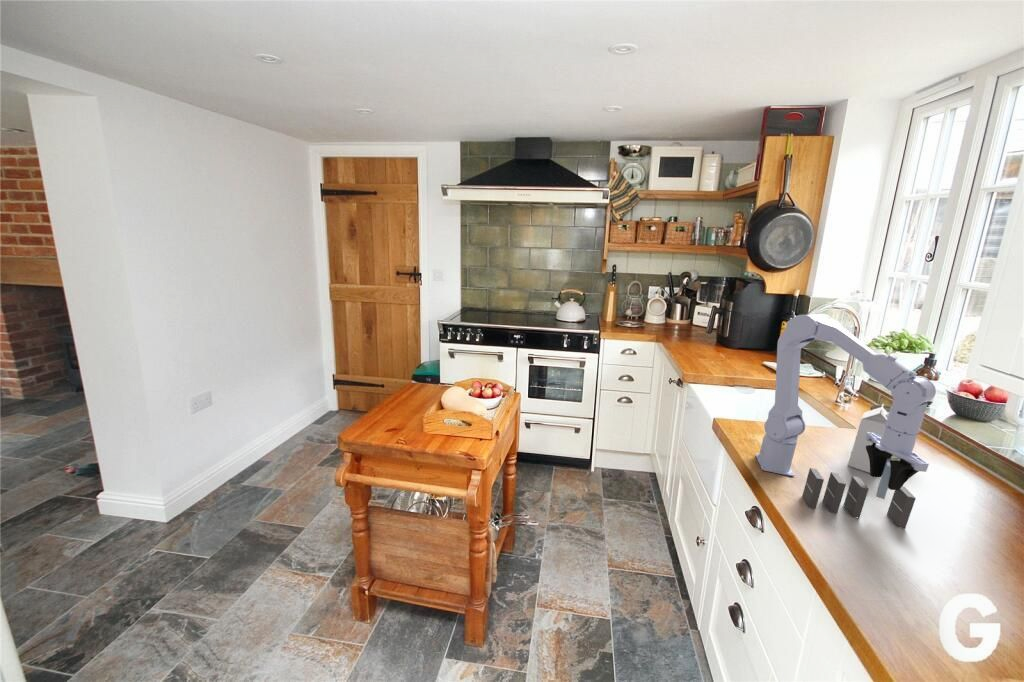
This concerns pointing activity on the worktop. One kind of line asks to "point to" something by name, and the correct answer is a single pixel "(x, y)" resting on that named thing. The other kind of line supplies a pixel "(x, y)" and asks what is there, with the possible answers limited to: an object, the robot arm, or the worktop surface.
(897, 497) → the tile
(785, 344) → the robot arm
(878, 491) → the tile
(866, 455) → the milk carton
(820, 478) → the tile
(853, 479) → the tile
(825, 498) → the tile
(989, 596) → the worktop surface
